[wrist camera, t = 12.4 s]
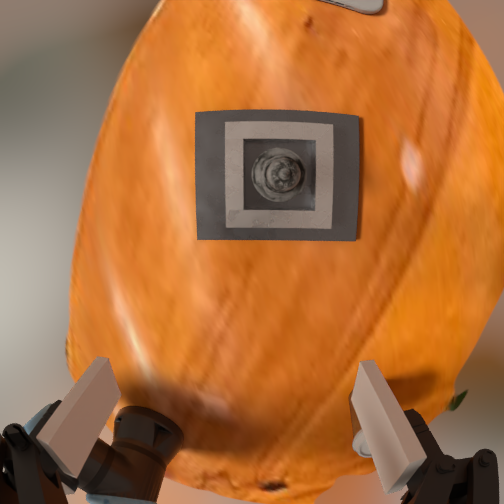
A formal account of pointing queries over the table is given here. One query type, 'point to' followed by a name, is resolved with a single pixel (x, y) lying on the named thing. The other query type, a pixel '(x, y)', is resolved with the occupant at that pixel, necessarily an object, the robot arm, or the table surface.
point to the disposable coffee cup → (358, 434)
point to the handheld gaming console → (359, 5)
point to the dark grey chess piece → (279, 174)
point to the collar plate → (244, 192)
